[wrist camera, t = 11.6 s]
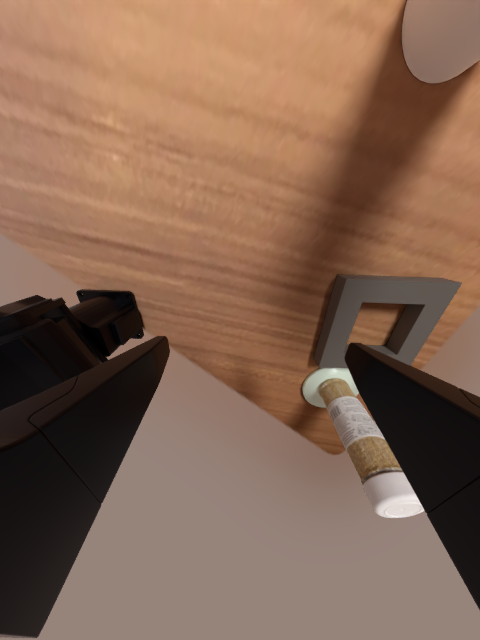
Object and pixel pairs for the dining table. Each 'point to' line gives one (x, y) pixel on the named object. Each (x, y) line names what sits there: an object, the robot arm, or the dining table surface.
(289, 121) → the dining table surface
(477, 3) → the cylindrical container
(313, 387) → the coaster
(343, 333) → the holder
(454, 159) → the dining table surface
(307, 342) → the dining table surface
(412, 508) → the sprinkles bottle
